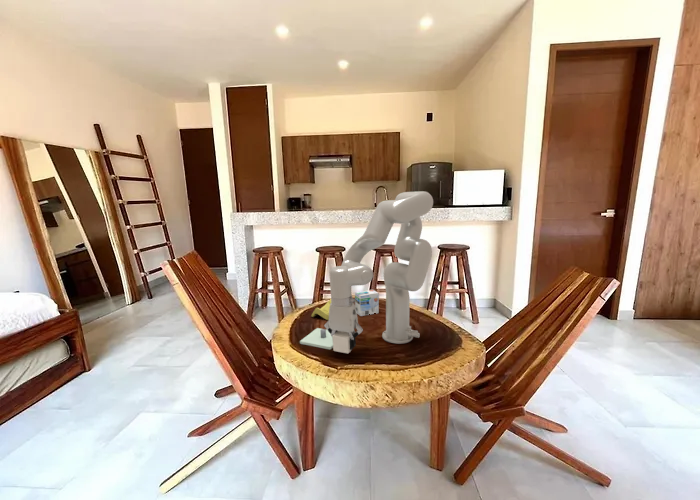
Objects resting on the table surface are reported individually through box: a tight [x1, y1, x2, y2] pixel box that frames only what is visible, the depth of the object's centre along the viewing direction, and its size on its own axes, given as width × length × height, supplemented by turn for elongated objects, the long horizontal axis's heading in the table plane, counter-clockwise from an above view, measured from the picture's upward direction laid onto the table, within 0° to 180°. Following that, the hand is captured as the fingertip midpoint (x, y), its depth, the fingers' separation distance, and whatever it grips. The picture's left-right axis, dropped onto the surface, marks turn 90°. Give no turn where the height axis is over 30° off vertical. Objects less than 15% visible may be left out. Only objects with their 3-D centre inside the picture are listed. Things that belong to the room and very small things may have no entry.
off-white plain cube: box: [332, 331, 352, 354], centre depth 113 cm, size 6×6×6 cm
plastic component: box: [311, 298, 331, 321], centre depth 157 cm, size 20×7×10 cm
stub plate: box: [299, 327, 333, 350], centre depth 126 cm, size 14×14×4 cm
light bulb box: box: [354, 289, 380, 317], centre depth 155 cm, size 11×7×11 cm, turn 113°
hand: (344, 346), depth 113 cm, fingers closed on off-white plain cube, 6 cm apart
